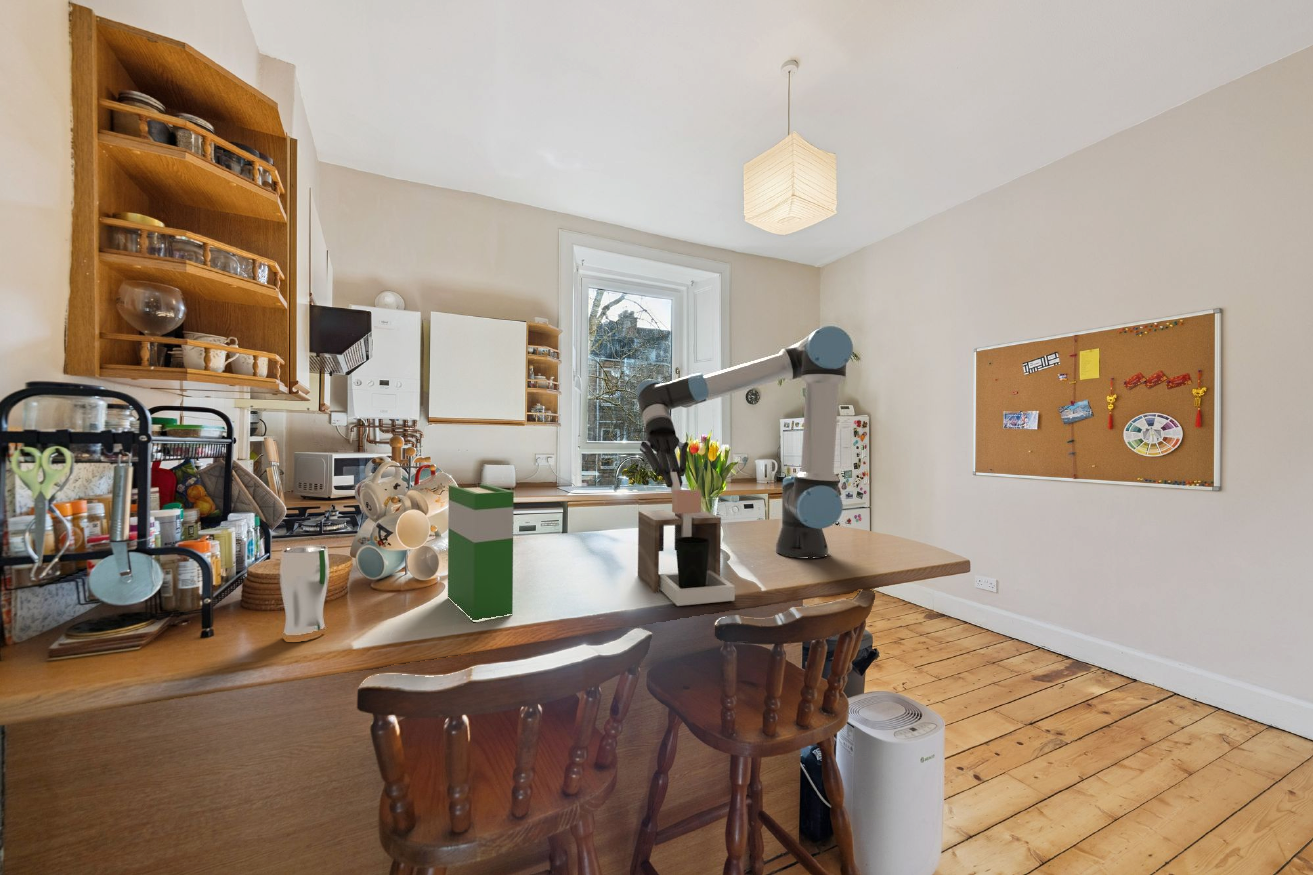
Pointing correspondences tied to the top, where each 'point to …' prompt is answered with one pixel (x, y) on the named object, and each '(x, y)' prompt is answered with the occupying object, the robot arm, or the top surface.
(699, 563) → the cup
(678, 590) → the slider
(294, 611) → the beer glass
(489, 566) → the hardback book
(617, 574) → the top surface
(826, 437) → the robot arm
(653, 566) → the tunnel
